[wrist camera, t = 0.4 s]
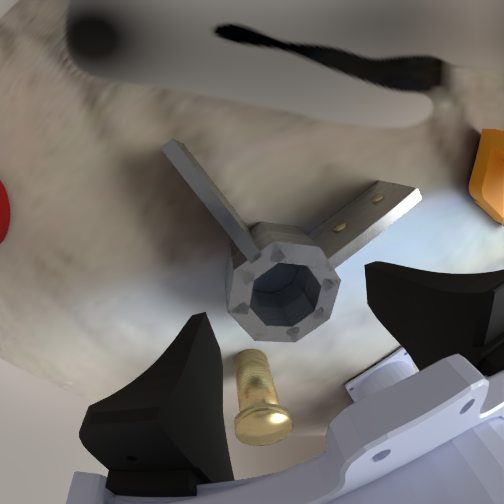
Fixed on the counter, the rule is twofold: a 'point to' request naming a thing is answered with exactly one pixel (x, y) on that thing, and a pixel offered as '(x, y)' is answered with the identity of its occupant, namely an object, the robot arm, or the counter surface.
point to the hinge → (291, 252)
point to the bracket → (489, 174)
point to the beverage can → (4, 212)
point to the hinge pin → (258, 402)
